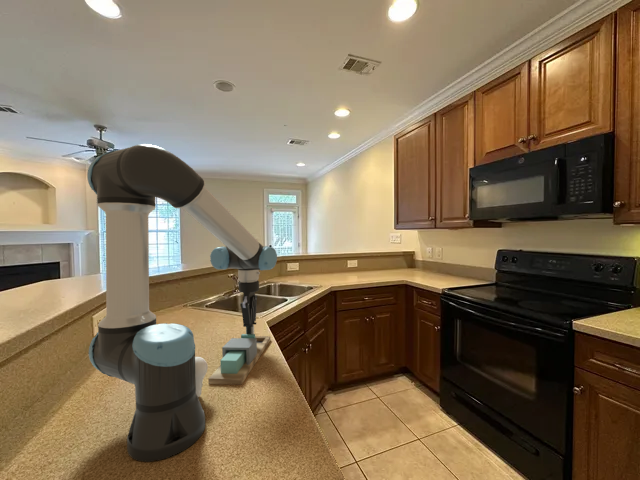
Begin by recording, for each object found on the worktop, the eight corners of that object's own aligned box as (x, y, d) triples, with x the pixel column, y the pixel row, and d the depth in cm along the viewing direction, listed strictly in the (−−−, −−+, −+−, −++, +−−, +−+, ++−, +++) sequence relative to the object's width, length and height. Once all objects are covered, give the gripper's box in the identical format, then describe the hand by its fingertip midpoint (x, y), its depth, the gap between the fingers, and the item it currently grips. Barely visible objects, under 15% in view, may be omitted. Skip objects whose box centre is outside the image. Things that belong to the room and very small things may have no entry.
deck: (241, 384, 83) (241, 379, 83) (208, 383, 84) (208, 378, 84) (270, 340, 117) (270, 336, 117) (246, 340, 118) (246, 336, 118)
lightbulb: (212, 397, 77) (211, 357, 77) (189, 407, 72) (188, 365, 72) (202, 388, 81) (201, 351, 81) (180, 398, 77) (178, 358, 76)
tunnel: (249, 364, 92) (249, 347, 92) (222, 364, 93) (222, 347, 92) (256, 354, 100) (256, 338, 100) (232, 353, 101) (231, 338, 100)
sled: (236, 373, 86) (236, 356, 86) (220, 373, 86) (220, 356, 86) (255, 348, 105) (255, 334, 105) (242, 347, 105) (242, 334, 105)
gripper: (253, 283, 100) (254, 349, 100) (263, 277, 113) (264, 336, 113) (232, 283, 100) (234, 349, 101) (244, 278, 113) (246, 336, 114)
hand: (250, 342), depth 107 cm, fingers closed
